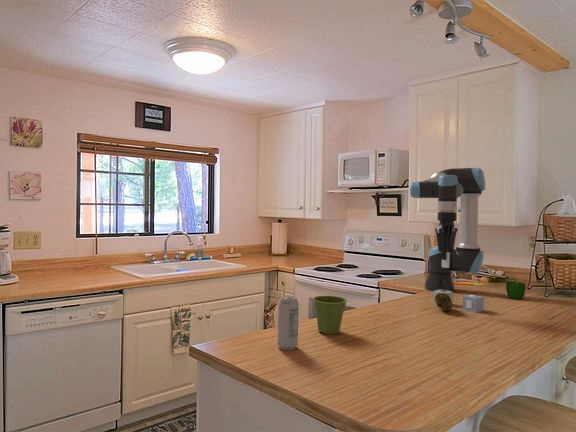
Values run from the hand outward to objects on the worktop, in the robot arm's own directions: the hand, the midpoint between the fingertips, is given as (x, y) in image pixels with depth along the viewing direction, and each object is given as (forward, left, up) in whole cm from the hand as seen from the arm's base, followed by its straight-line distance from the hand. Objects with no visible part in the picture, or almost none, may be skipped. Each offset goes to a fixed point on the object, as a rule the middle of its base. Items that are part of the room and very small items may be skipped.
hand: (445, 267), depth 184 cm
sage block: (-8, +11, -19) cm, 23 cm away
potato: (0, 0, -19) cm, 19 cm away
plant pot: (-2, -63, -19) cm, 66 cm away
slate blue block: (+6, +12, -19) cm, 23 cm away
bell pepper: (+3, +55, -19) cm, 58 cm away
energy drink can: (+4, -85, -19) cm, 87 cm away
